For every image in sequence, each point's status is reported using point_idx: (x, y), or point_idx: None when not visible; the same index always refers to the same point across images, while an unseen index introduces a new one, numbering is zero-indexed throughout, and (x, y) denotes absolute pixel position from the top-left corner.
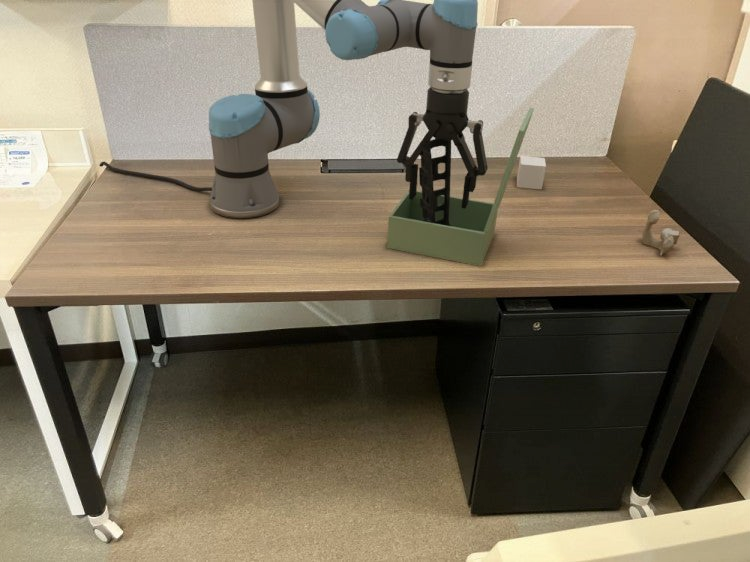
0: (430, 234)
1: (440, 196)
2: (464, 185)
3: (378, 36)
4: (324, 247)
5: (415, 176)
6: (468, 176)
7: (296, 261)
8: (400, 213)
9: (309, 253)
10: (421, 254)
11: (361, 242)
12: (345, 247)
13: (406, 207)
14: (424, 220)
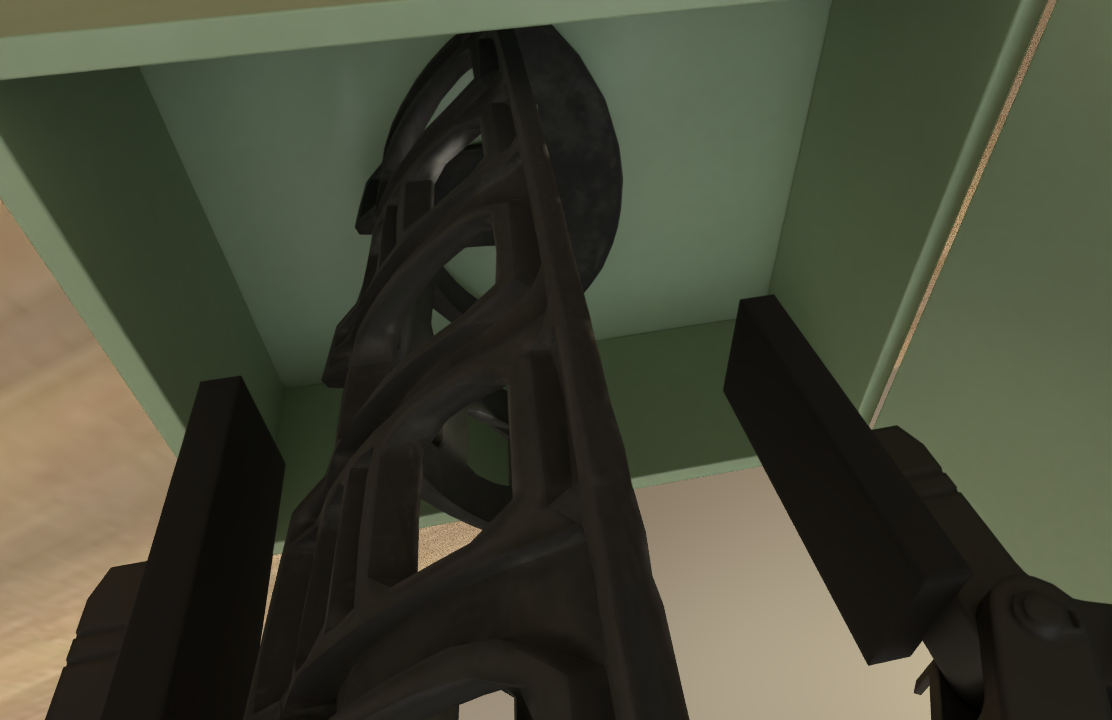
0: None
1: (393, 39)
2: (822, 572)
3: None
4: (4, 517)
5: (231, 640)
6: (909, 644)
7: (33, 615)
8: (193, 350)
9: (7, 569)
10: None
11: (109, 409)
12: (88, 475)
13: (113, 180)
14: (364, 219)
